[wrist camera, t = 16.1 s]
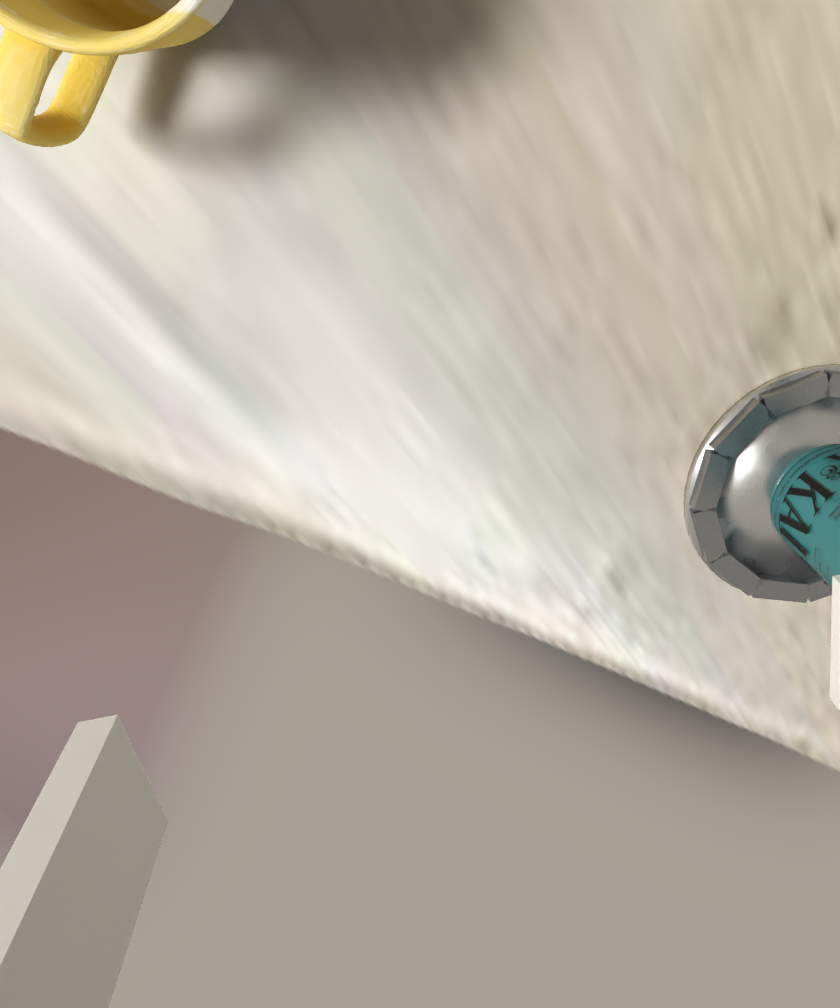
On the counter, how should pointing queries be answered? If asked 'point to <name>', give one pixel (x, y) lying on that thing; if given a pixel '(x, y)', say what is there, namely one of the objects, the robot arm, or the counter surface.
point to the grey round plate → (760, 482)
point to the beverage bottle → (811, 509)
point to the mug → (82, 54)
